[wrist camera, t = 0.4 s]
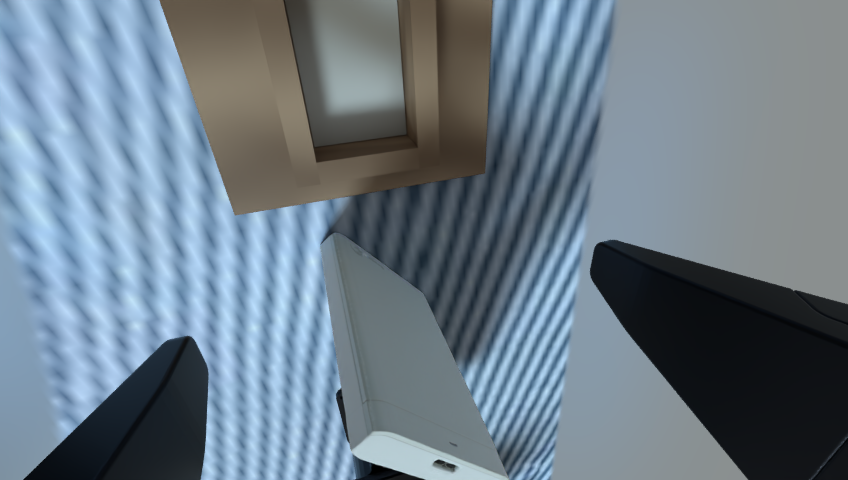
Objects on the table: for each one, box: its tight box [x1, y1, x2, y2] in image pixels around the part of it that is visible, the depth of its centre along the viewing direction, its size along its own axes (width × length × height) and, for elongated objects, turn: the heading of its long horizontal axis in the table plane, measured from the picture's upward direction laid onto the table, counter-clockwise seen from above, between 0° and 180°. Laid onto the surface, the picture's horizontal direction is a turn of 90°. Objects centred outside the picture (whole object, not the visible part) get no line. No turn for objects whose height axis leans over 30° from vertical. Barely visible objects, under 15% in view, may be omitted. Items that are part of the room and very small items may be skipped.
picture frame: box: [160, 0, 492, 215], centre depth 16 cm, size 16×13×3 cm
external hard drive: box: [320, 233, 510, 480], centre depth 19 cm, size 2×8×12 cm, turn 41°
